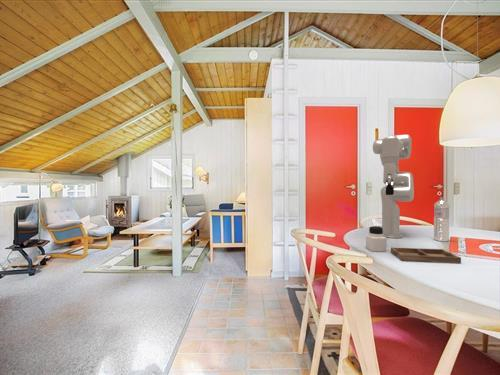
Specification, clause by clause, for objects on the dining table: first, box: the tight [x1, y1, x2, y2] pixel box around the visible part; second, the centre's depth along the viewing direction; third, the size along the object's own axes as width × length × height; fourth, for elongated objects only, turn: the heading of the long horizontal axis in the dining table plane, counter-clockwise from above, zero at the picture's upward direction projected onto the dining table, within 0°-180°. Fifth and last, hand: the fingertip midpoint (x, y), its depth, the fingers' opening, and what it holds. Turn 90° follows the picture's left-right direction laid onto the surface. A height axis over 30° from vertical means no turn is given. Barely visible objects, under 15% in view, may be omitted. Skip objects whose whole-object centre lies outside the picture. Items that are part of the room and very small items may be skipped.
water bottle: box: [433, 197, 450, 243], centre depth 135 cm, size 7×7×25 cm
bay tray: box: [390, 247, 462, 264], centre depth 108 cm, size 12×23×2 cm, turn 80°
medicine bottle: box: [365, 225, 388, 253], centre depth 120 cm, size 7×7×12 cm
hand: (389, 194), depth 120 cm, fingers open, 9 cm apart
